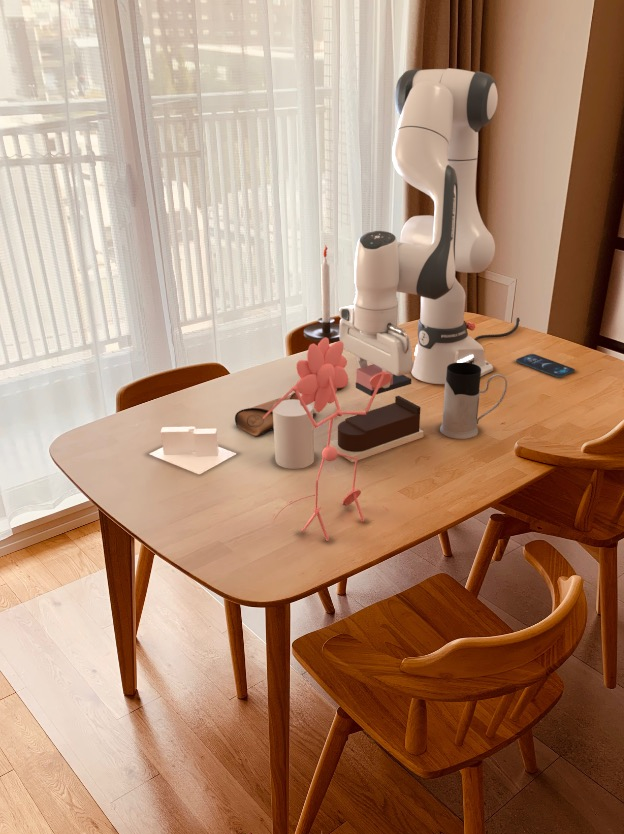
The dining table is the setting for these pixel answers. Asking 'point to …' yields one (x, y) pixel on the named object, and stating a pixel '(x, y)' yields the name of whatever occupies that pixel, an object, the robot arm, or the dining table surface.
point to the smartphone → (545, 365)
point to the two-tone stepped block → (369, 371)
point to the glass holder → (463, 400)
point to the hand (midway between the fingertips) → (374, 381)
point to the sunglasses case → (258, 417)
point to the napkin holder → (191, 448)
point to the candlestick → (324, 313)
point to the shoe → (379, 430)
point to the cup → (293, 435)
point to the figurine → (321, 387)
